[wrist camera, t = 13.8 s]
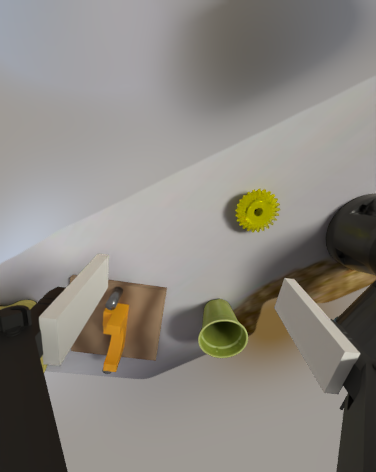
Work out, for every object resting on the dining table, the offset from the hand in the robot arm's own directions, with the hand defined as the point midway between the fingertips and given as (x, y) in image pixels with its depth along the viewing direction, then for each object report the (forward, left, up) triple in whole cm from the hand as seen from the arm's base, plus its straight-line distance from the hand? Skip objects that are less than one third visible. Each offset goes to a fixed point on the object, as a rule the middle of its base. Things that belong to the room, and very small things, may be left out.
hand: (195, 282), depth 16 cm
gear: (-12, -2, -27) cm, 29 cm away
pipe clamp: (+12, +29, -26) cm, 40 cm away
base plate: (+12, +28, -27) cm, 41 cm away
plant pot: (-10, +22, -27) cm, 36 cm away
